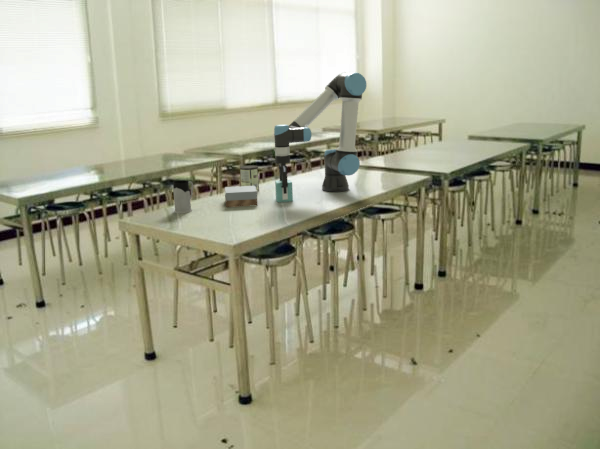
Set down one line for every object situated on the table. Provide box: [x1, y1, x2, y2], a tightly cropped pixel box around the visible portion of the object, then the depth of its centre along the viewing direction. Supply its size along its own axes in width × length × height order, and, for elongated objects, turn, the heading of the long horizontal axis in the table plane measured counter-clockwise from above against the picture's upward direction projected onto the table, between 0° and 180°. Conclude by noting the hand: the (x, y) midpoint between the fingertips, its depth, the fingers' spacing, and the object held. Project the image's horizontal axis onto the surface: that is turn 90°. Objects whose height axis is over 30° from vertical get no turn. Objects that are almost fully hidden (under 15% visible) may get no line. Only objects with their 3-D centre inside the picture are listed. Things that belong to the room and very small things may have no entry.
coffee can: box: [239, 164, 260, 192], centre depth 340 cm, size 10×10×14 cm
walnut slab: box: [224, 195, 258, 208], centre depth 309 cm, size 16×16×4 cm
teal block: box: [274, 179, 294, 203], centre depth 311 cm, size 8×8×10 cm
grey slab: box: [224, 186, 258, 201], centre depth 308 cm, size 16×16×4 cm
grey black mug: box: [172, 179, 194, 214], centre depth 295 cm, size 9×14×15 cm, turn 156°
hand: (284, 197), depth 312 cm, fingers closed on teal block, 8 cm apart
